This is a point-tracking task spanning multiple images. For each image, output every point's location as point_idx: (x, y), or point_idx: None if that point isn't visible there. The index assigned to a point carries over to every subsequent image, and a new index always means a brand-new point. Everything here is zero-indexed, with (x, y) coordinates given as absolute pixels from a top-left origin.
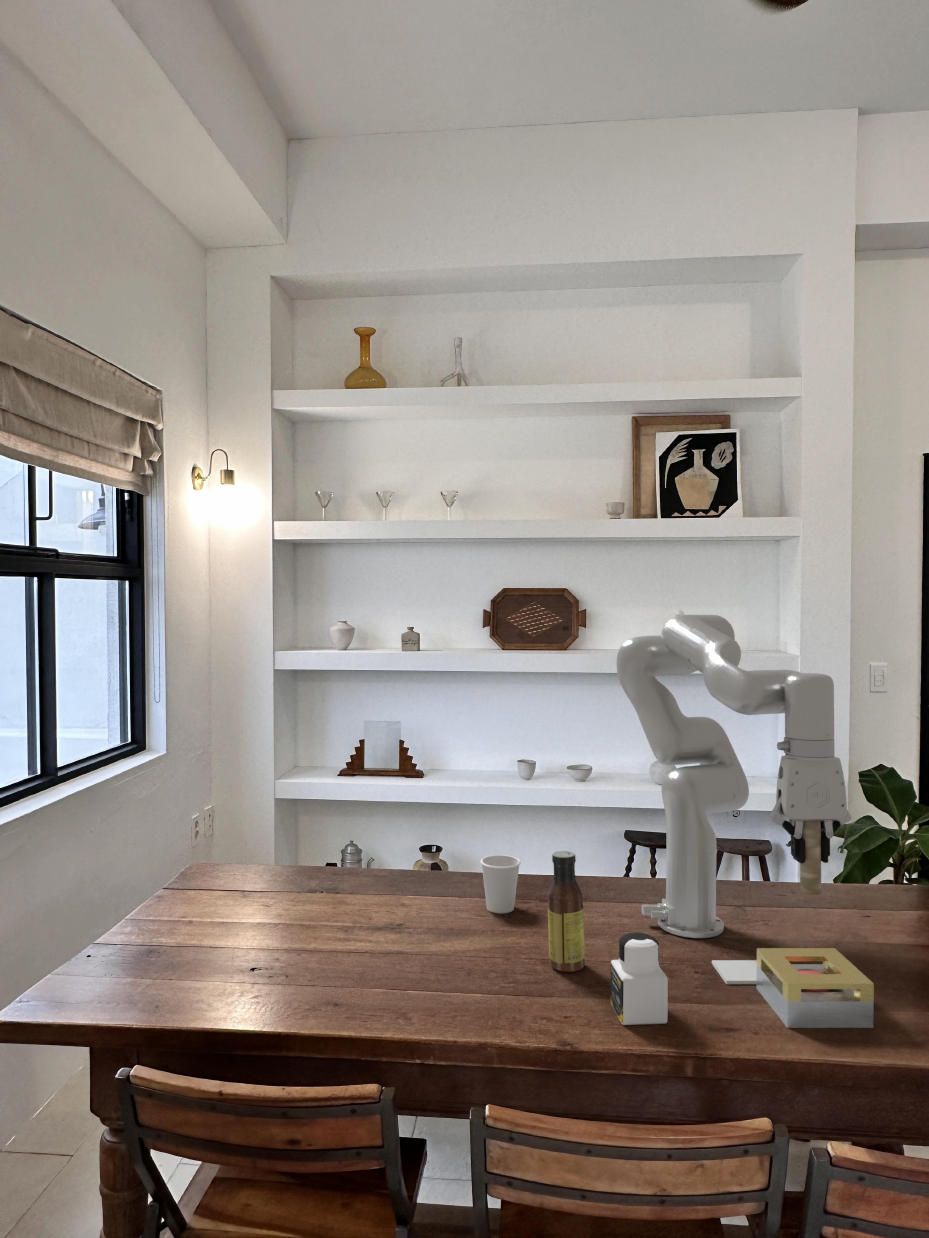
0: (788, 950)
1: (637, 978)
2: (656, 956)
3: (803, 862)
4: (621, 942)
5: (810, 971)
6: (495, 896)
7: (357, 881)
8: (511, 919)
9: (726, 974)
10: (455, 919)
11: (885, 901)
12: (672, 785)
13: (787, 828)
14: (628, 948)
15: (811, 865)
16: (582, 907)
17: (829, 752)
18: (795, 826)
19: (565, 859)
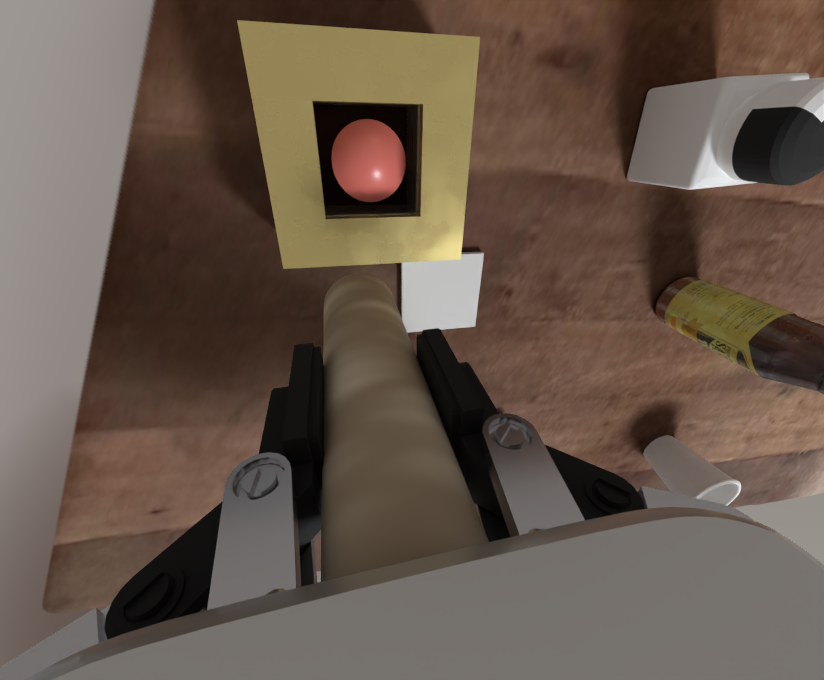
0: (397, 250)
1: (784, 76)
2: (778, 97)
3: (427, 329)
4: None
5: (365, 187)
6: (690, 450)
7: (756, 481)
8: (663, 421)
9: (473, 277)
10: (721, 412)
11: (110, 561)
12: None
13: (591, 472)
14: None
15: (383, 327)
16: (753, 338)
17: None
18: (563, 485)
19: None
